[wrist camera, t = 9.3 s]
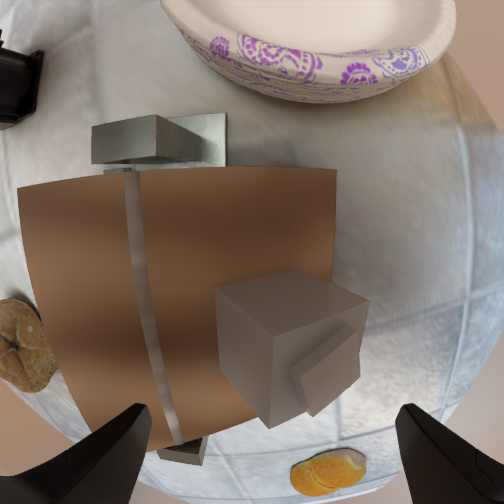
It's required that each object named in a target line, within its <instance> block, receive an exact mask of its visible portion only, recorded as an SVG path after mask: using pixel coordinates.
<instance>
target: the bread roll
mask: <svg viewBox="0 0 504 504" xmlns="http://www.w3.org/2000/svg"><path fill="white" fill-rule="evenodd" d="M365 473H366V458H365V457H364V456H362V455H361V454H360V453H359V452H356V451H354V450H351V449H339V450H333V451H328V452H324V453H322V454H319V455H317V456H315V457H313V458H311V459H309V460H308V461H304V462H301V463H299V464H297V465H296V466H295V467H293V468H292V470H291V473H290V482H291V484H292V486H293V487H294V488H295V489H296V490H297V491H298V492H300V493H301V494H304V495H307V496H313V497H314V496H321V495H326V494H329V493H332V492H335V491H337V490H339V489H341V488H342V487H347V486H350V485H353V484H355V483H357V482H359V481H360V480H361V479H362V477H363V476H364V475H365Z"/></svg>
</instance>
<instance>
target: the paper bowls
mask: <svg viewBox="0 0 504 504" xmlns="http://www.w3.org/2000/svg"><path fill="white" fill-rule="evenodd" d="M160 3H161V5H162V8H163V9H164V11H165V12H166V14H167V15H168V17H169V18H170V19H171V20H172V21H173V23H174V24H175V26H176V27H177V28H178V29H179V30H180V32H181V33H182V35H183V37H184V38H185V40H186V41H187V43H188V44H189V45H190V47H191V49H192V50H193V51H194V52H195V53H196V54H197V55H198V56H199V57H200V58H201V59H202V61H204V62H205V63H206V64H207V65H208V66H210V67H211V68H213V69H214V70H216V71H217V72H219V73H220V74H222V75H223V76H225V77H227V78H228V79H230V80H232V81H233V82H235V83H237V84H239V85H242V86H244V87H247V88H249V89H251V90H256V91H258V92H260V93H262V94H265V95H269V96H273V97H277V98H282V99H285V100H290V101H298V102H306V103H341V102H351V101H353V100H360V99H362V98H368V97H371V96H375V95H378V94H380V93H383V92H385V91H388V90H390V89H392V88H394V87H396V86H397V85H399V84H400V83H402V82H404V81H406V80H408V79H410V78H411V77H413V76H415V75H416V74H418V73H419V72H422V71H424V70H426V69H428V68H429V67H431V66H433V65H434V64H435V63H436V62H437V61H439V60H440V58H441V57H442V56H443V55H444V54H445V52H446V50H447V49H448V48H449V46H450V44H451V42H452V40H453V37H454V33H455V28H456V19H457V16H456V7H455V2H454V0H160Z"/></svg>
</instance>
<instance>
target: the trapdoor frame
mask: <svg viewBox="0 0 504 504" xmlns="http://www.w3.org/2000/svg"><path fill="white" fill-rule="evenodd" d="M91 163H92V164H135V171H144V170H157V169H173V168H193V167H227V150H226V114H225V113H215V114H201V115H190V116H181V117H172V118H163V117H161V116H159V115H157V114H155V115H149V116H143V117H137V118H131V119H126V120H121V121H116V122H111V123H106V124H102V125H97V126H93V127H92V136H91ZM122 172H130V168H119V169H111V170H104V174H112V173H122ZM208 437H209V435H207V436H204V437H201V438H198V439H195V440H191V441H188V442H185V443H183V444H182V445H174V446H170V447H166V448H162V449H158V450H156V451H157V453H158V455H159V457H160V459H164V460H169V461H174V462H180V463H186V464H192V465H199V466H202V463H203V459H204V454H205V450H206V446H207V441H208Z"/></svg>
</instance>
